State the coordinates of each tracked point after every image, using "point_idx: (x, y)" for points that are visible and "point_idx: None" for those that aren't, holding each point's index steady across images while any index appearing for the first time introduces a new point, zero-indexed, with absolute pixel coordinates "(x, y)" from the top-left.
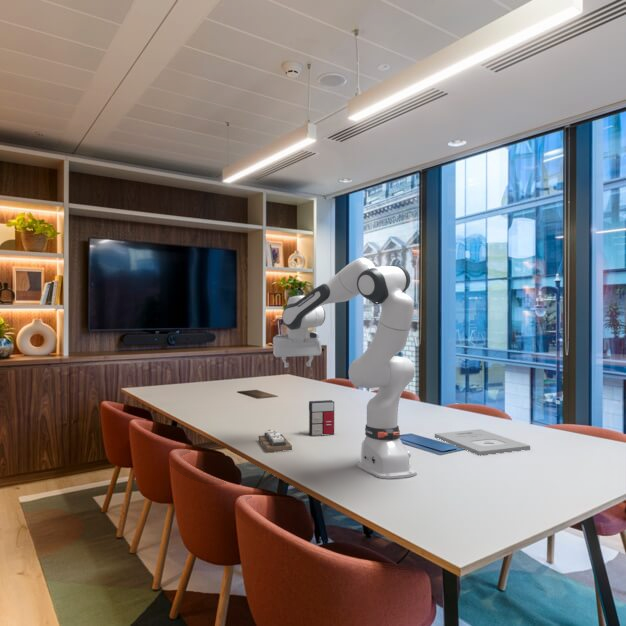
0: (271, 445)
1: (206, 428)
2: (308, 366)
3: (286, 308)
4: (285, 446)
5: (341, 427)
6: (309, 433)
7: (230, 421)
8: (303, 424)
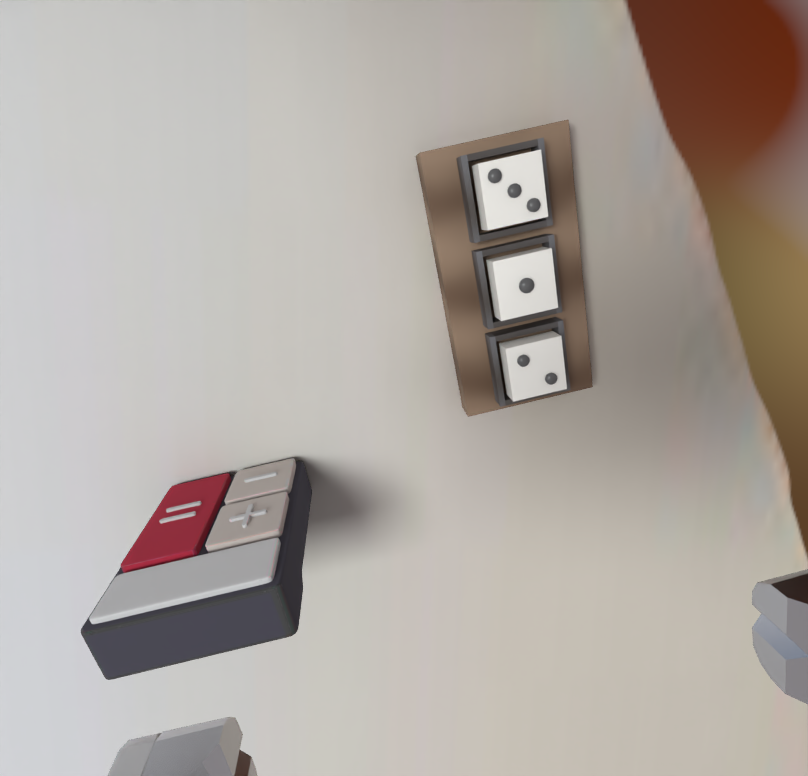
0: None
1: None
2: (195, 725)
3: None
4: (458, 144)
5: None
6: (310, 487)
7: (680, 711)
8: (341, 677)
